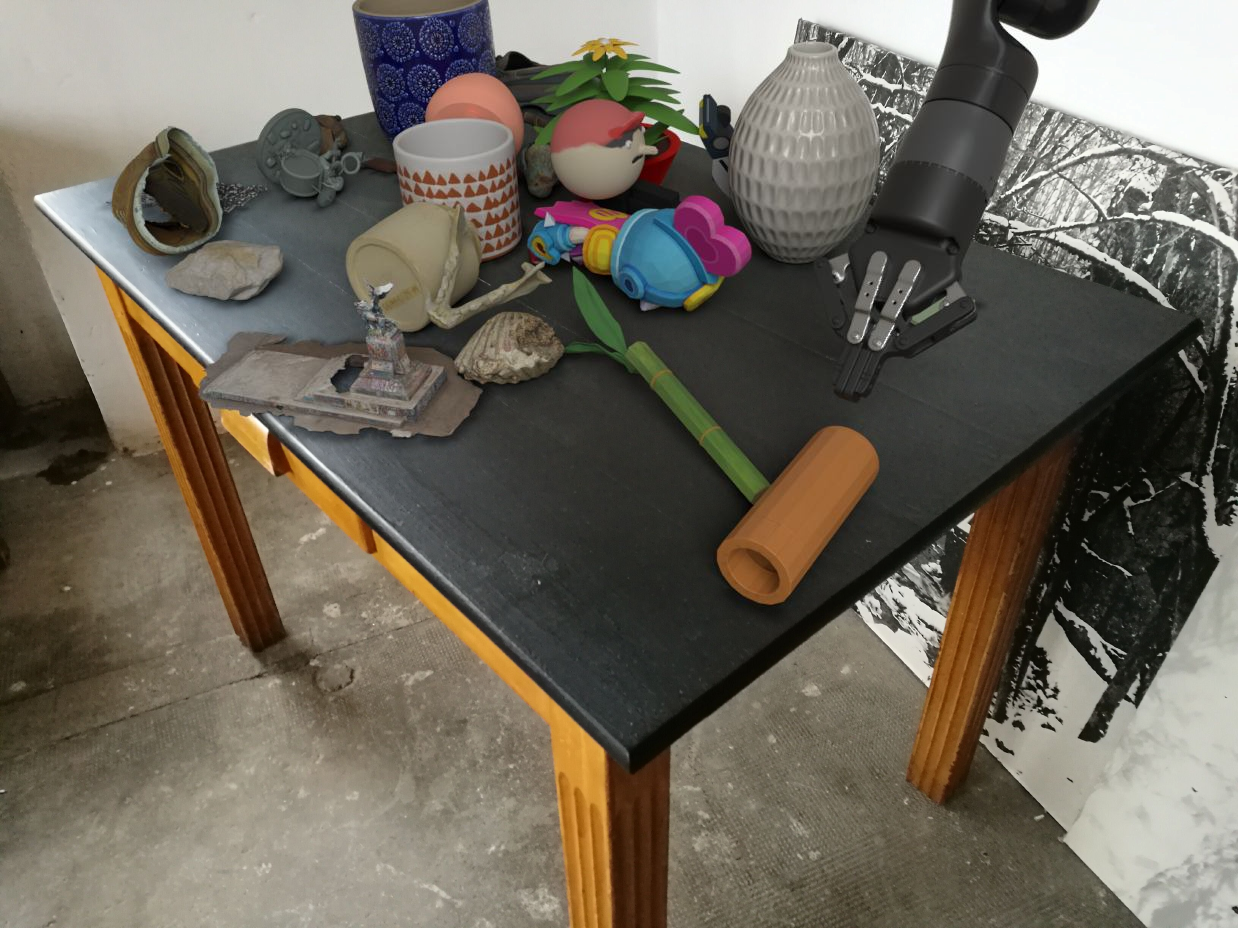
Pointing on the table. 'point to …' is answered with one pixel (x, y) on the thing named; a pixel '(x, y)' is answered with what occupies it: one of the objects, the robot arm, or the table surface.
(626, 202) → the toy
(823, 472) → the jar
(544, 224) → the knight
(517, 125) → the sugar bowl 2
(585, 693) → the table surface
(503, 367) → the seashell
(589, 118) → the toy
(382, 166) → the knife
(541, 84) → the loafer
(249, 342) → the monument
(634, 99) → the potted flower
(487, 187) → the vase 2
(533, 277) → the jawbone
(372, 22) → the planter
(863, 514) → the table surface
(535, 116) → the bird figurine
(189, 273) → the stone
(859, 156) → the vase
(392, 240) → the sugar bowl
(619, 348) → the decorative plant
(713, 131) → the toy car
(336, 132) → the figurine
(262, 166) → the figurine
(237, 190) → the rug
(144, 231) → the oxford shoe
